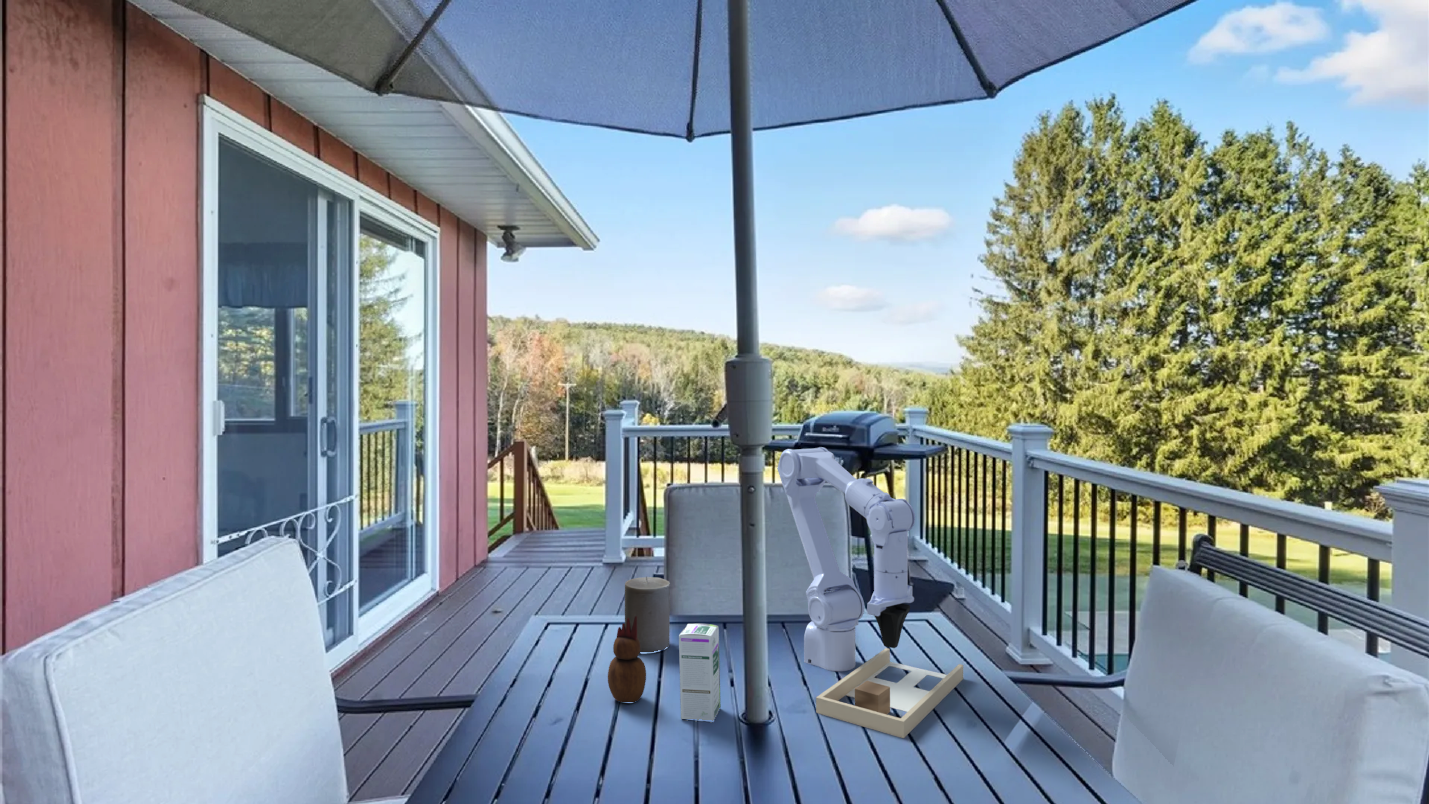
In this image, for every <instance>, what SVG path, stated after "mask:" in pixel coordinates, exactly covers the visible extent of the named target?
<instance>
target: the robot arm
mask: <svg viewBox="0 0 1429 804" xmlns="http://www.w3.org/2000/svg"><path fill="white" fill-rule="evenodd" d="M776 468H777V472H778V476H779V479H780V482H781V484H782V488H783V491H784V493H785V495H786V497H787V501H788V504H789V507H790V511H791V512H792V513H791V514H792V516H793V520H794V522H795V525H796V529H797V533H798V534H799V538H800V541H801V544H802V546H803V547H802V548H803V551H804V553H805V556H806V560H807V563H808V566H809V569H810V573H811V575H812V578H813V580H812V582H811V583H810V585H809V586H808V587H807V590H806V591H805V594H806V598H807V605H808V607H807V611H808V615H809V617H810V619H811V621H810V622H809V623H808V624H807V625H806V628H805V631H804V636H803V663H805V664H808V665H811V666H816V667H819V668H821V669H824V670H826V671H832V672H847V671H851V670H854V668H855V667H856V626H859V620H860V619H862V617H863V616H864V614H865V602H864V598H863V596H862V594H861V593H860V592H859V590H858V588H857V587H856V585H855V583H854V580H853V579H852V578H851V577H850V576H849V575H847V574H845V573H843V572H842V571H841V570H840V567H839V565H838V562H837V559H836V556H835V553H834V550H833V546H832V544H831V542H830V541H831V540H830V538H829V535H828V533H827V529H826V526H825V524H824V521H823V518H822V515H821V512H820V509H819V505H818V503H817V500H816V495H817V493H819V492H820V491H821V490H822V488H823V487H824V486H825V483H828V484H830V485H831V486H832V487H834V488H835V489H837V490H838V491H840V492H841V493H843V494H844V500H845V501H846V504H847V505H849V506H850V507H851V508H852V509H853V510H855V511H856V512H858V513H859V514H860V515H861V516H862V517H864V518H865V519H866V523H867V526H868V528H869V530H870V533H871V534H870V535H871V542H872V543H873V546H874V547H873V551H874V552H873V553H874V554H873V556H874V557H873V564H874V565H873V571H874V572H873V577H874V578H873V590H874V591H873V593H872V595H871V598H870V600H869V601H868V602H867V606H866V607H867V609H866V610H867V611H866V614H867V615H869V616H874V618H875V620H876V623H877V626H878V629H879V632H880V636H881V639H882V645H883V647H885V648H889V649H890V648H891V649H896V648H897V647H898V645H899V642H900V638H901V633H902V630H903V626H904V622H905V621H906V618H907V617H908V615H909V613H910V611H911V605H910V604H911V603H913V602H914V601H915V597H914V596H913V586H912V585H909V584H908V581H909V580H908V577H909V576H908V575H909V574H908V573H909V572H908V571H909V570H908V569H909V566H908V565H909V563H908V562H909V561H908V559H909V558H908V553H909V552H908V550H909V549H908V548H909V546H908V545H909V543H908V542H909V541H908V540H909V539H908V537H909V535H908V533H909V531H910V530H912V529H913V527H914V526H915V522H916V514H915V510H914V508H913V506H912V505H911V504H910V503H909V502H908V501H907V499H905V498H897V499H896V498H892V497H891V495H890V494H889V493H888V492H885V491H883V490H881V489H880V488H879V487H877V486H876V485H875V484H874V480H872V479H871V478H862V477H861V478H856V477H854V476H853V475H852V474H851V473H850V472H849V471H847V469H846V468H844V467H843V466H842V465H841V464H840V463H839V462H838V461H837V460H835V455H834V453H832V452H831V451H829V450H828V449H827V448H826V447H822V446H819V447H815V448H801V449H792V448H787V449H785V450H783V451H782V453H781V454H780V456H779V460H778V464H777V467H776Z"/></svg>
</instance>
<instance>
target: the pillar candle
mask: <svg viewBox="0 0 1429 804" xmlns="http://www.w3.org/2000/svg"><path fill="white" fill-rule="evenodd" d="M670 587H671V582H670V580H667V579H666V578H665V579H664V578H661V577H650V576H645V577H636V578H631V579H629V580H627V581H625V583H624V624H625V628H626V624H627V618H629V620H630V626H631V630H632V626H633V622H634V618H635V616H637V638H638V639H639V642H640V652H654V651H658V650H663V649H665V648H666V647H668V646H669V647H670V632H671V631H670V629H671V628H670V623H671V622H670V621H671V620H670V615H671V613H670V611H671V610H670V607H671V606H670V605H671V604H670V601H671V600H670V599H671V598H670V594H671V593H670V591H671V589H670Z"/></svg>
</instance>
